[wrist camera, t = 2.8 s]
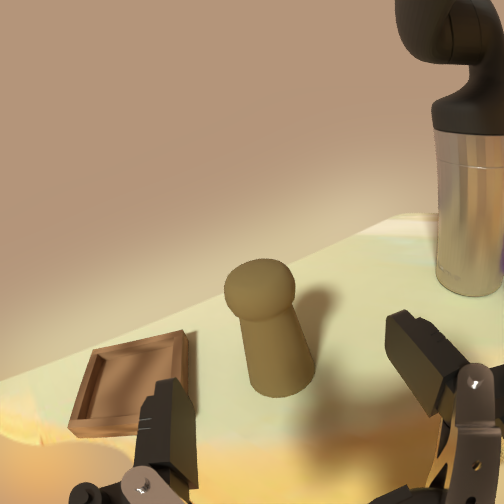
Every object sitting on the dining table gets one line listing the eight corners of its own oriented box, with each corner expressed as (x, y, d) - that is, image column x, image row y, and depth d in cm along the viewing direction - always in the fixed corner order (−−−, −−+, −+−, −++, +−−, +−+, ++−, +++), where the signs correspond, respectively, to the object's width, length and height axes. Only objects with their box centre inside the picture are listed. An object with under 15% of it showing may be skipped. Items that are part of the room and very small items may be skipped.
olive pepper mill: (241, 363, 28) (206, 266, 24) (298, 340, 29) (277, 240, 25) (261, 407, 23) (223, 305, 18) (326, 379, 24) (312, 271, 19)
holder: (188, 341, 33) (182, 329, 32) (188, 428, 22) (179, 417, 21) (100, 360, 33) (93, 349, 32) (78, 437, 22) (67, 427, 21)
